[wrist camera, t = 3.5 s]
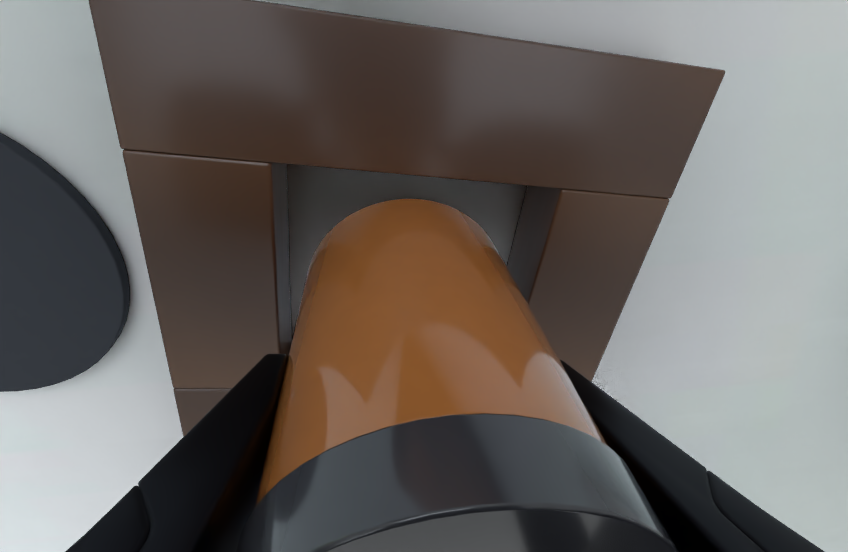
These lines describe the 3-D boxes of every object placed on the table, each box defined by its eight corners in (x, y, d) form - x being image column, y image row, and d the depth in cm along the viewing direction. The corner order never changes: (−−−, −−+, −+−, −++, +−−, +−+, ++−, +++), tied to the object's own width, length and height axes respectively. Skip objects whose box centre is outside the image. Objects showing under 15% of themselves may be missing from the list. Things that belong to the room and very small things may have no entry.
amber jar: (483, 367, 14) (598, 705, 7) (303, 364, 13) (236, 748, 6) (526, 202, 11) (781, 495, 4) (301, 183, 10) (173, 520, 3)
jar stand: (492, 539, 23) (503, 586, 21) (232, 552, 21) (219, 606, 19) (667, 61, 12) (727, 70, 10) (138, -17, 9) (82, -25, 8)
